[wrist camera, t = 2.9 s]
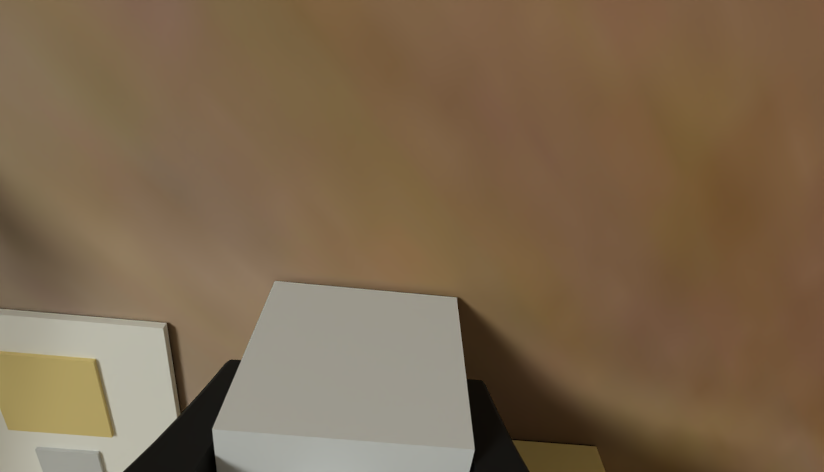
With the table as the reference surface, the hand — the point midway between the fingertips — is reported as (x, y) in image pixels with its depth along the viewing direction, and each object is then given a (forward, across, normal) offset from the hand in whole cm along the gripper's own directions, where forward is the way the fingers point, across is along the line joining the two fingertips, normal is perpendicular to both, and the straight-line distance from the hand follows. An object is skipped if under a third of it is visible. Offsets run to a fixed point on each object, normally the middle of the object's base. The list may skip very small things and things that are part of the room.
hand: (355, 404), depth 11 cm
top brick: (+1, 0, 0) cm, 1 cm away
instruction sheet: (+2, +8, +4) cm, 8 cm away
